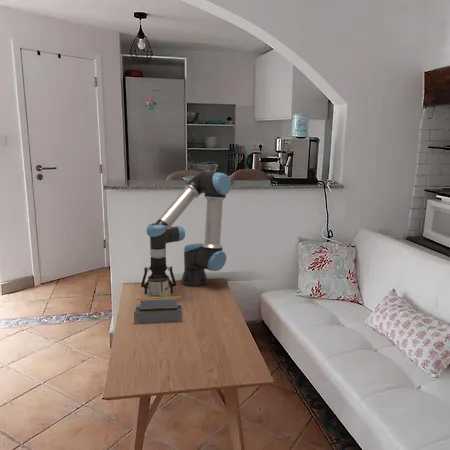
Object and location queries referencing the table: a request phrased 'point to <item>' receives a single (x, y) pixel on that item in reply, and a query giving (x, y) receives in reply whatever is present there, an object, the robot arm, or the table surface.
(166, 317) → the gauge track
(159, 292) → the coffee can
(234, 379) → the table surface
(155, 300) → the carriage
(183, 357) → the table surface
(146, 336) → the table surface
